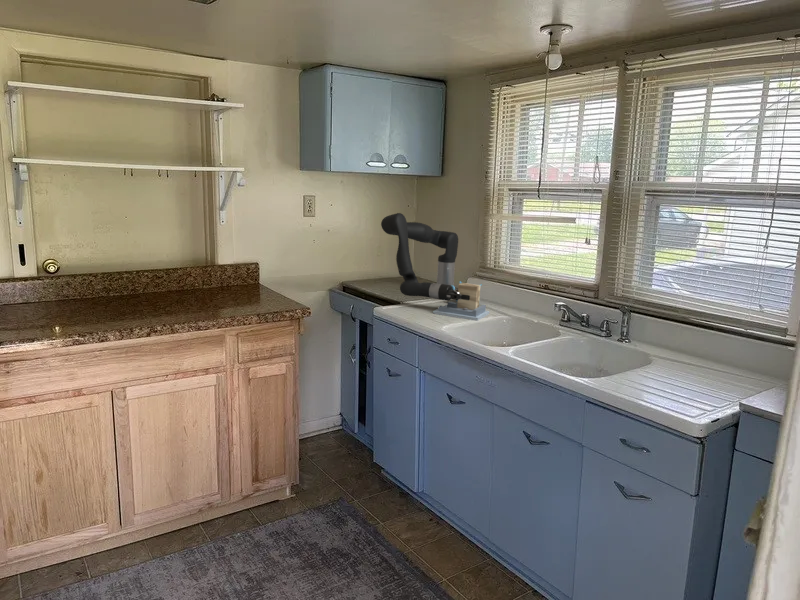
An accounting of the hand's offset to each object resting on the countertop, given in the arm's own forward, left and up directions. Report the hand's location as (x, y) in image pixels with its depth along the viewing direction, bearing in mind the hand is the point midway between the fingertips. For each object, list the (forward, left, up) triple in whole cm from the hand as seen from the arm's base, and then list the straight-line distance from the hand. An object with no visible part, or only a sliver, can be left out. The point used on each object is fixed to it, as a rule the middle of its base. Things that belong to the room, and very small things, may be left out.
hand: (472, 296), depth 272 cm
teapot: (-21, -11, -9) cm, 25 cm away
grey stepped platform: (0, -5, -9) cm, 10 cm away
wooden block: (0, -2, -8) cm, 8 cm away
